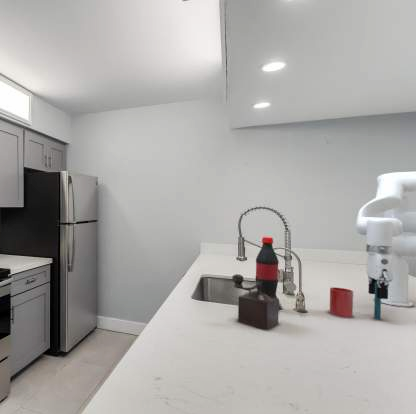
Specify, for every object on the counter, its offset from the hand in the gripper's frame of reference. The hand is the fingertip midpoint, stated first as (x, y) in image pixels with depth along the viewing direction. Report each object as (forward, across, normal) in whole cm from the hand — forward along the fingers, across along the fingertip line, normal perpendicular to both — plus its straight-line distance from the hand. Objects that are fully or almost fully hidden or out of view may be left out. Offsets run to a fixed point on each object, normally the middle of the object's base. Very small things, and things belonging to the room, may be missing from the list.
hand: (377, 295), depth 122 cm
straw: (+9, 0, 0) cm, 9 cm away
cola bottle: (+9, -5, +39) cm, 40 cm away
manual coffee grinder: (+9, -27, +46) cm, 54 cm away
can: (+9, 0, +12) cm, 15 cm away
